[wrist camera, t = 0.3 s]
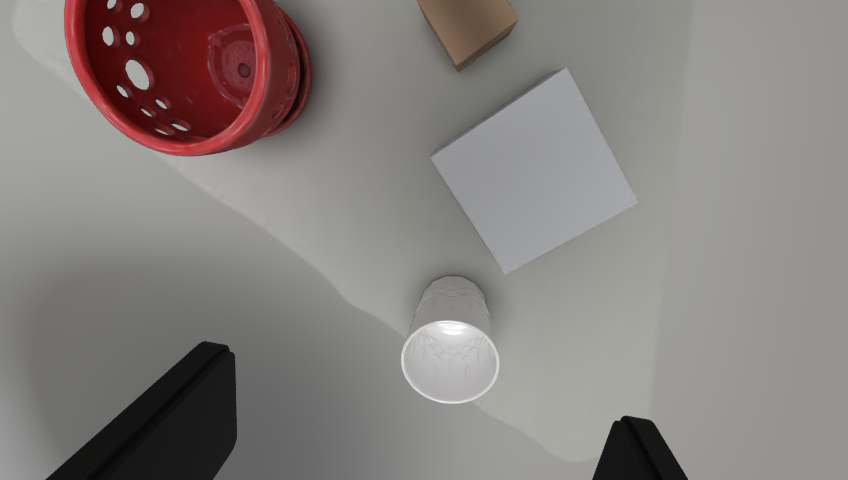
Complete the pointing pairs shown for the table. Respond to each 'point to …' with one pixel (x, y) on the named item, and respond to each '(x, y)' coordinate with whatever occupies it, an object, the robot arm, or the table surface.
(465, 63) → the walnut block
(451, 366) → the white cup
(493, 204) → the grey block
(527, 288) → the table surface
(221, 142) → the plant pot
